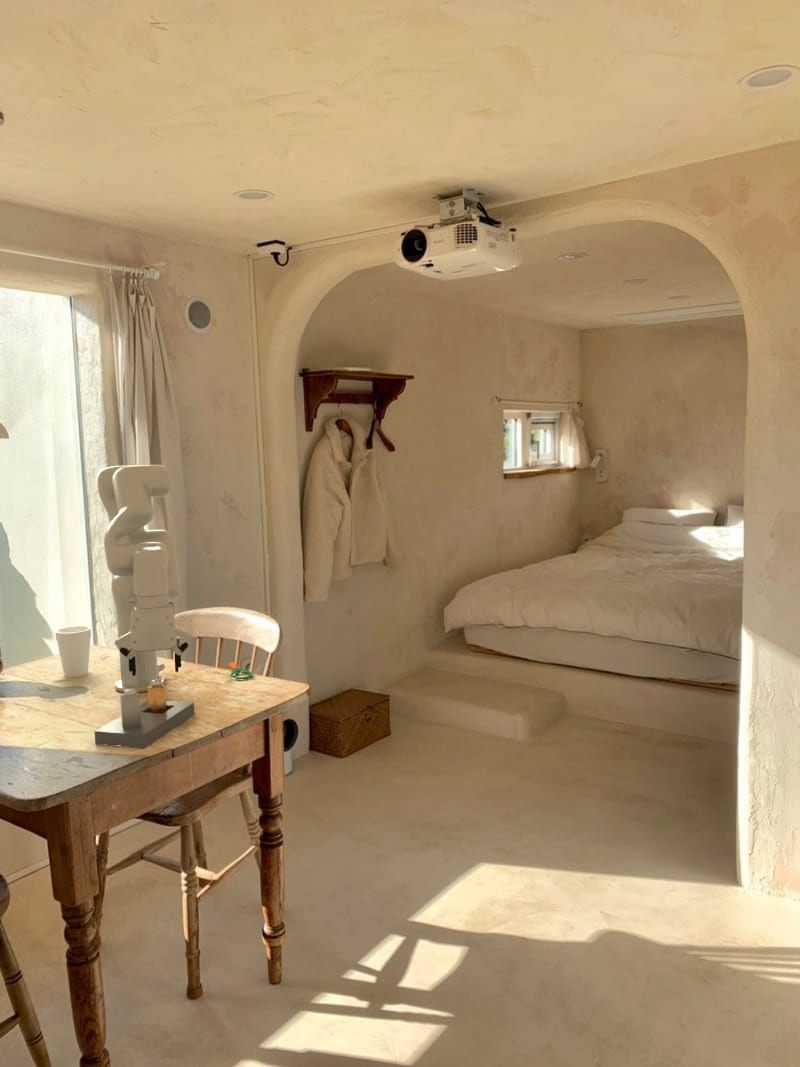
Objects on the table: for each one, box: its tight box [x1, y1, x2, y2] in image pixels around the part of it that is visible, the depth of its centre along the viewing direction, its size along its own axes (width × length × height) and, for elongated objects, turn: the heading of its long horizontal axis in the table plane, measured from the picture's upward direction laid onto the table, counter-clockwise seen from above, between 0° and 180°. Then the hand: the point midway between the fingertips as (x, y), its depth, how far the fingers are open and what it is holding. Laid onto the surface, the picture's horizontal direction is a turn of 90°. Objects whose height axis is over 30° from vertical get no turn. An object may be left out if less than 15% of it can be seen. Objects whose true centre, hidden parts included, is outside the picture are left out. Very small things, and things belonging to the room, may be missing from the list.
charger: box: [94, 689, 195, 749], centre depth 186 cm, size 22×12×11 cm, turn 166°
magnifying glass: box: [228, 661, 253, 680], centre depth 230 cm, size 15×6×2 cm, turn 24°
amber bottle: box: [147, 679, 167, 714], centre depth 191 cm, size 4×4×10 cm
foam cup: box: [55, 625, 92, 678], centre depth 232 cm, size 10×9×13 cm
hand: (155, 672), depth 191 cm, fingers open, 9 cm apart
